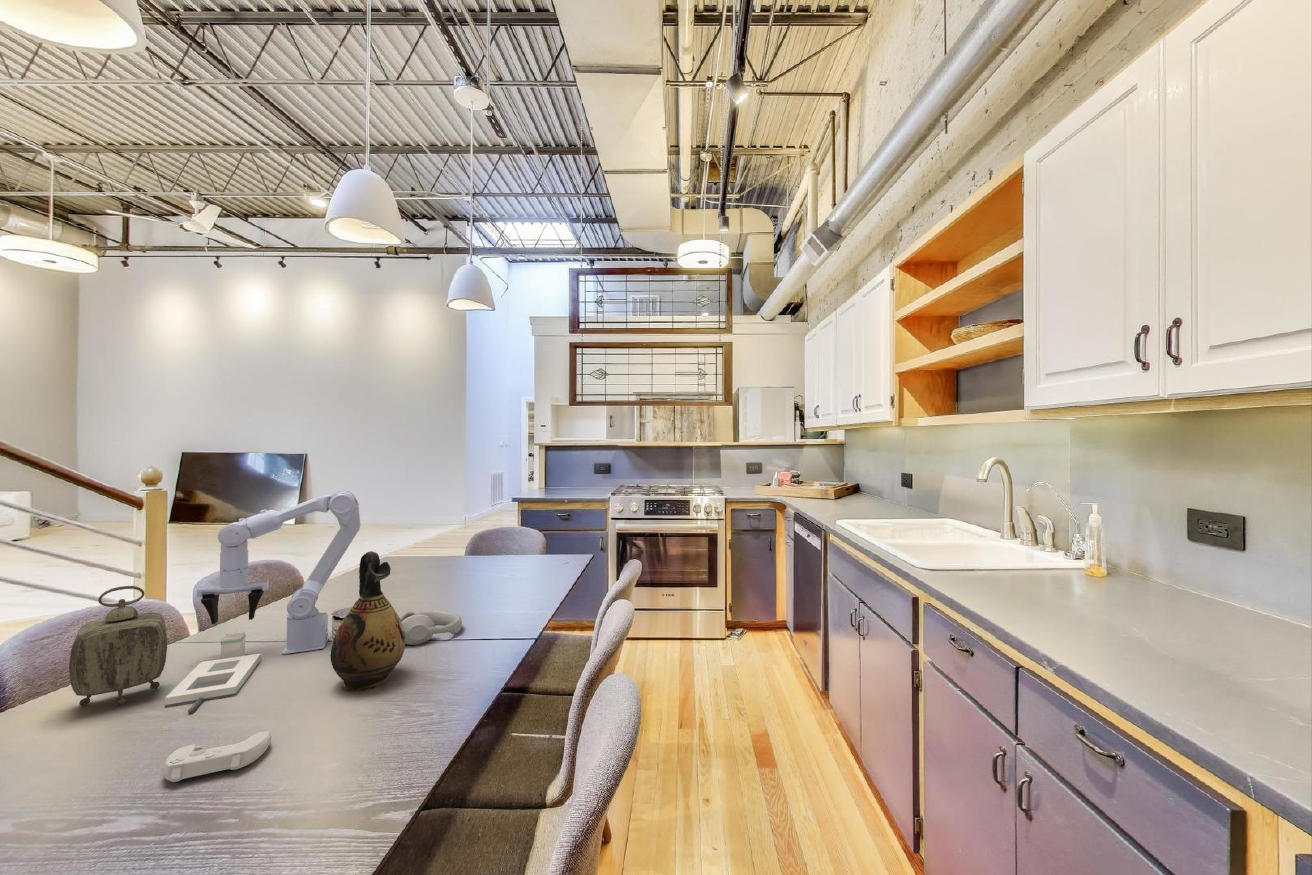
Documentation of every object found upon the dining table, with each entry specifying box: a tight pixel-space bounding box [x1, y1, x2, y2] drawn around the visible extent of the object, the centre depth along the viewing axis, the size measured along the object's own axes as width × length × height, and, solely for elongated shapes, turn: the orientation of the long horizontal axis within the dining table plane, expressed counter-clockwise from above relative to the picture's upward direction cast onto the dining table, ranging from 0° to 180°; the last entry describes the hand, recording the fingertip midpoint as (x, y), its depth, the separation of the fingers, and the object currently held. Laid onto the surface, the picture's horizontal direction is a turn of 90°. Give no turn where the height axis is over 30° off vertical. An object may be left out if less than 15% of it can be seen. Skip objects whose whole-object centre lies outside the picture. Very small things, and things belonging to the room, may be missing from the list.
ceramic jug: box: [329, 550, 406, 692], centre depth 121 cm, size 17×15×30 cm
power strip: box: [164, 653, 262, 714], centre depth 117 cm, size 12×26×2 cm, turn 25°
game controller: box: [162, 730, 272, 783], centre depth 89 cm, size 14×4×10 cm
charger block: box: [220, 631, 246, 659], centre depth 133 cm, size 4×4×6 cm
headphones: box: [396, 610, 463, 646], centre depth 150 cm, size 18×8×20 cm
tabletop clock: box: [68, 585, 168, 707], centre depth 111 cm, size 14×9×25 cm, turn 134°
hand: (233, 620), depth 133 cm, fingers open, 7 cm apart
